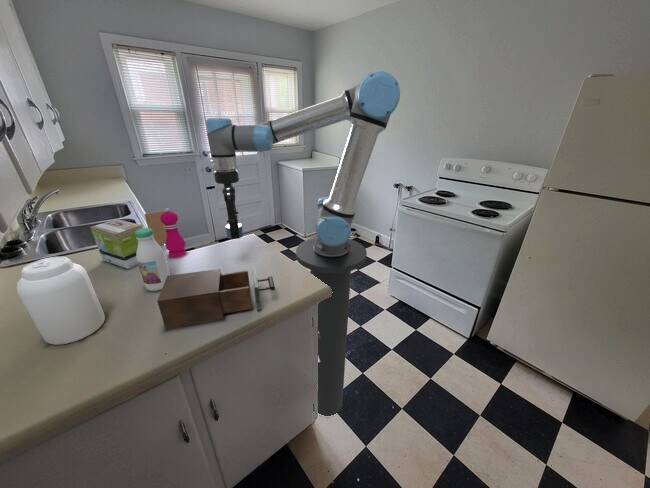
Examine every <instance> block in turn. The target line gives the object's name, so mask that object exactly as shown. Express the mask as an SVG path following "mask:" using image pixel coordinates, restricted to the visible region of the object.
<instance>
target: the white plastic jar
mask: <svg viewBox="0 0 650 488" xmlns="http://www.w3.org/2000/svg"><path fill="white" fill-rule="evenodd" d="M20 275H21V277H20V278H19V280H18V281H17V282H16V293H17V295H18V297H19V298H20V300H21V302H22V304H23V306H24V307H25V309H26V311H27V313H28V314H29V316H30V318H31V320H32V322H33V323H34V326H35V327H36V329H37V330H38V332H39V333H40V336H41V337H42V339H43V340H44V341H45V342H46V343H47V344H49V345H55V346H59V345H60V346H61V345H67V344H70V343H75V342H77V341H79V340H83V339H85V338H86V337H88V336H90V335H92V334H93V333H95V332H96V331H97V330H99V329H100V328H101V327H102V326H103V325H104V322H105V320H106V316H105V315H106V314H105V313H104V310H103V307H102V305H101V303H100V301H99V298H98V295H97V293H96V290H95V289H94V286H93V284H92V281H91V279H90V276H89V274H88V272H87V270H86V269H85V267H83V266H82V265H80V264H78V263H75V262H72V260H71V259H70V258H69V257H67V256H62V255H61V256H50V257H46V258H41V259H38V260H36V261H33V262H30V263H28V264H27V265H25V266H24V267H23V268H21V274H20Z"/></svg>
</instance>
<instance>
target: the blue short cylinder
mask: <svg viewBox="0 0 650 488" xmlns="http://www.w3.org/2000/svg"><path fill="white" fill-rule="evenodd" d="M243 229H244V228H243V224H242V223H239V222H238V230H239V237H240V238H239V239H241V238H243V237H244V230H243ZM225 231H226V237H227V239H229V240H233V239H232V238H231V232H230V226H229V223H227V224H226V225H225Z"/></svg>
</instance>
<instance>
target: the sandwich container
mask: <svg viewBox="0 0 650 488" xmlns="http://www.w3.org/2000/svg"><path fill="white" fill-rule="evenodd" d="M164 212H165V210H157V211H152V212H147V213H144V218H145V221H146V225H147V228H150V229H152V231H153V235H154V236H153V238H154V239H155V241H156V242H157V243H158V244H159V245H160V246H161V245H165V242H166V237H167V232H166V229H165V228H164V226H163V225H164V224H163V223H162V222H161V220H160V216H161V214H162V213H164Z"/></svg>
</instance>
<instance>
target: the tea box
mask: <svg viewBox="0 0 650 488" xmlns="http://www.w3.org/2000/svg"><path fill="white" fill-rule="evenodd" d="M89 228H90V232H91V234H92V236H93V239H94V241H95V244H96V247H97V248H98V251H99V254H100V256H101V257H100V258H101V259H102V261H104V262H106V263H110V264H113V265H116V266H118V267H122V268H124V269H127V270H129V269H131V268H134V267H135V266H139V265H138V261H137V257H136V252H137V247H138V239H136V236H135V231H137V230H139V229H143V225H142V224H139V223H135V222H131V221H127V220H123V219H119V218H114V219H112V220H109V221H105V222H103V223H99V224H96V225H92V226H89Z"/></svg>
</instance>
